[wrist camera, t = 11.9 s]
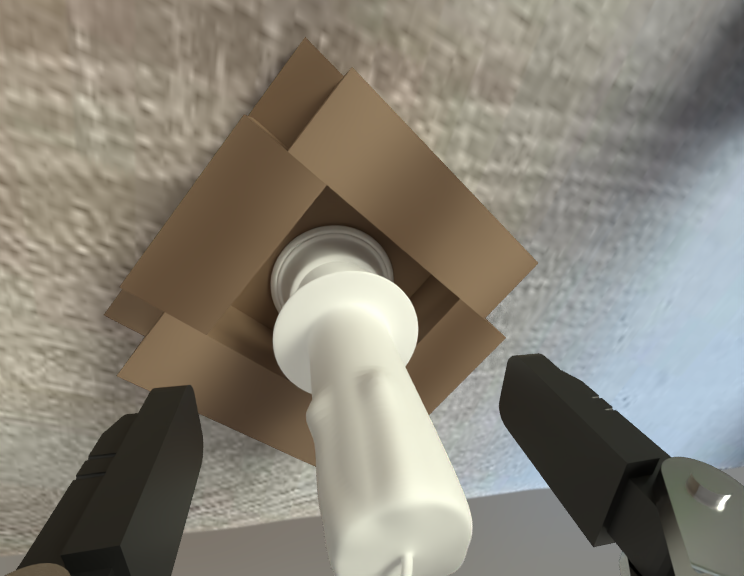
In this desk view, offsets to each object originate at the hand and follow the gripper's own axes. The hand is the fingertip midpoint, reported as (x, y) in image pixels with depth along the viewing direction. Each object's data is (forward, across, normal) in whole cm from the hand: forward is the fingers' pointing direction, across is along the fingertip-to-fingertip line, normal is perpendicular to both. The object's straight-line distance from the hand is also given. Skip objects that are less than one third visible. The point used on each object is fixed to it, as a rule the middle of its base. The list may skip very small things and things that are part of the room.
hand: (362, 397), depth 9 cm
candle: (+8, 0, 0) cm, 8 cm away
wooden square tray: (+9, 0, 0) cm, 9 cm away
